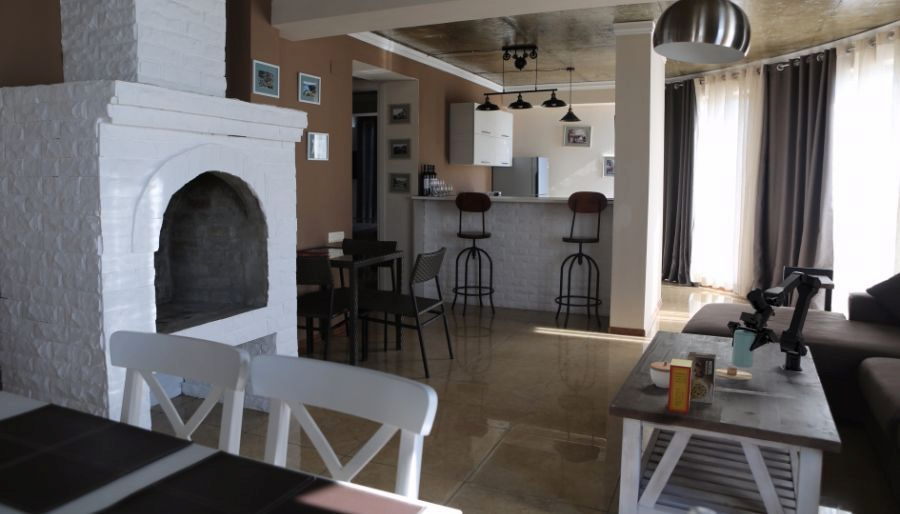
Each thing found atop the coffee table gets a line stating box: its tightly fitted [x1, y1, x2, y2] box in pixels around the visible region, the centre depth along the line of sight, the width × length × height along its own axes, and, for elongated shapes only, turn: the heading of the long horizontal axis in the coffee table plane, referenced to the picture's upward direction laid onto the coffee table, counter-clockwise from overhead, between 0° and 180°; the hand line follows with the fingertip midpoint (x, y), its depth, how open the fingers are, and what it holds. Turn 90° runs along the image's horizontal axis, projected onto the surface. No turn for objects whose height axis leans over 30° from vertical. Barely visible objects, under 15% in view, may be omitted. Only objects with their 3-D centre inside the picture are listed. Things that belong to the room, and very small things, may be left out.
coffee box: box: [687, 351, 717, 405], centre depth 243 cm, size 9×6×16 cm
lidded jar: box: [650, 360, 671, 389], centre depth 259 cm, size 11×11×9 cm
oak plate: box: [715, 368, 753, 381], centre depth 273 cm, size 15×15×1 cm
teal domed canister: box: [731, 330, 756, 369], centre depth 268 cm, size 7×7×13 cm
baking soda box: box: [667, 357, 692, 414], centre depth 234 cm, size 10×6×16 cm
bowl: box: [726, 366, 738, 375], centre depth 273 cm, size 4×4×3 cm
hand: (741, 348), depth 268 cm, fingers closed on teal domed canister, 7 cm apart
